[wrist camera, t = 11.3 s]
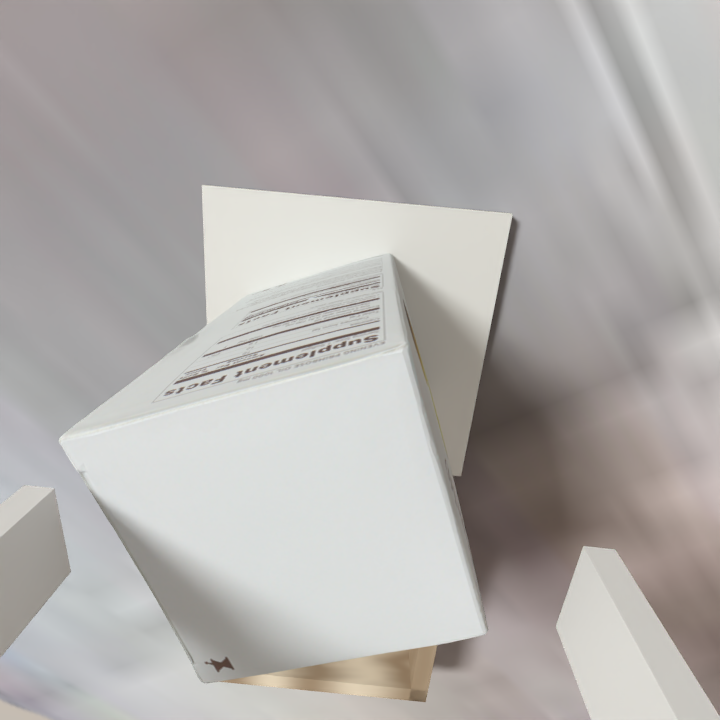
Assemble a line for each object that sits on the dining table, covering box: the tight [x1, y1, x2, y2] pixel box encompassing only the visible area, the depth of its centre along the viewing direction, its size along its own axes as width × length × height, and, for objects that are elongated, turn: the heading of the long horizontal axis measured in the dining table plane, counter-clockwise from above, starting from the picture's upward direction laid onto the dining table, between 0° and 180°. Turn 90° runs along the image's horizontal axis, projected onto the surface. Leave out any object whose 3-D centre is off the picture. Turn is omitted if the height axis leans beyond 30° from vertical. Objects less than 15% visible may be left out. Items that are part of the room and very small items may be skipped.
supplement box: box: [59, 253, 488, 683], centre depth 20 cm, size 10×9×17 cm
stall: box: [219, 645, 437, 702], centre depth 32 cm, size 16×15×5 cm
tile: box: [202, 185, 513, 476], centre depth 28 cm, size 17×17×1 cm
